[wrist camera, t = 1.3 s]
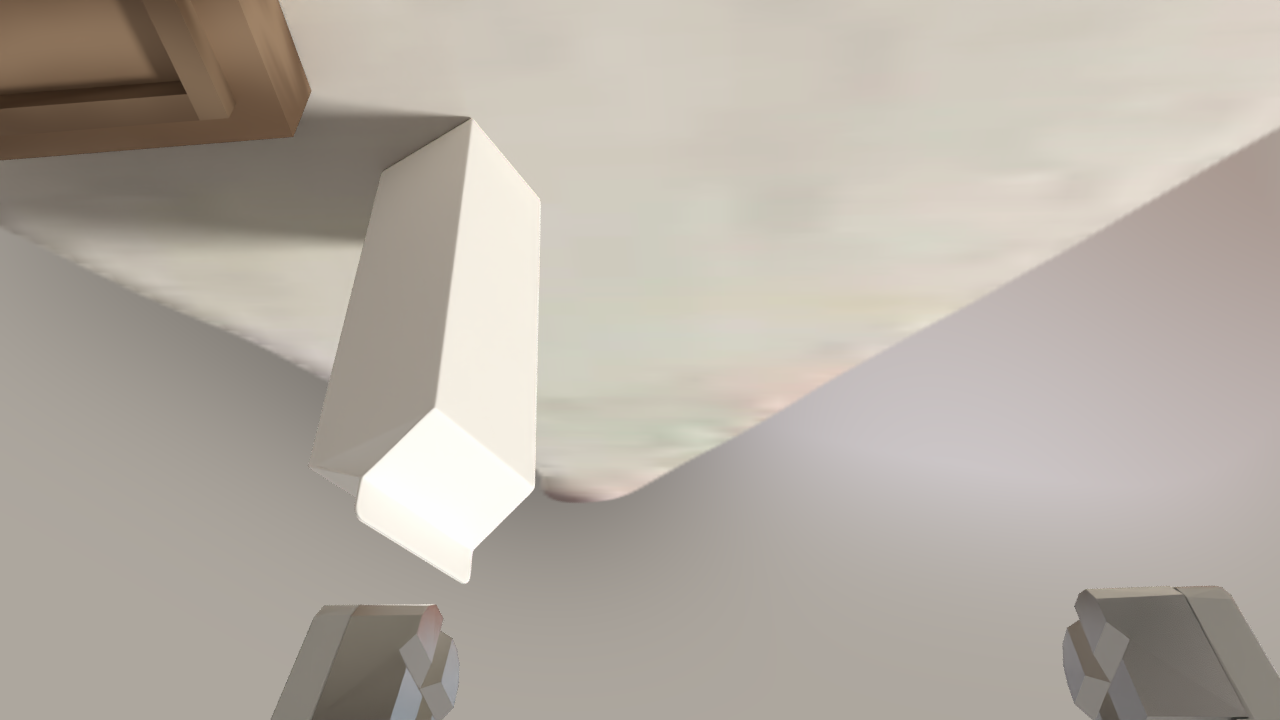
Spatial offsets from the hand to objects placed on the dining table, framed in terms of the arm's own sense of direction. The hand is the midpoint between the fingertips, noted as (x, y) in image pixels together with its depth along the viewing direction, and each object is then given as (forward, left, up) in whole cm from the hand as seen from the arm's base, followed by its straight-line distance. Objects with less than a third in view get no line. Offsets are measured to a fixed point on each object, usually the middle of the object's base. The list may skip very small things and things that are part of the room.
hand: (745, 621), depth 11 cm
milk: (+15, -9, -33) cm, 37 cm away
